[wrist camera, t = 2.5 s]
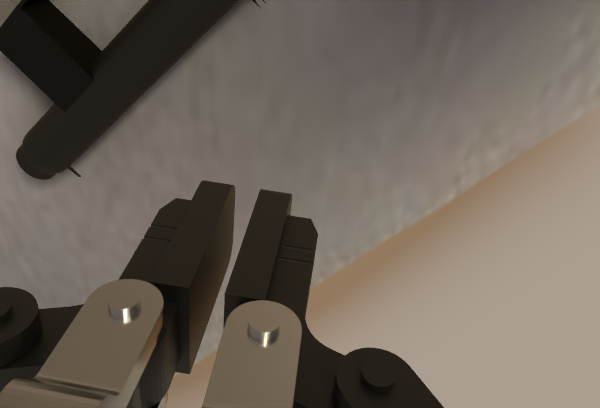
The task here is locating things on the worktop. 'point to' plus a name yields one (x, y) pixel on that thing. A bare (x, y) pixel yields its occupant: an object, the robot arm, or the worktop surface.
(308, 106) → the worktop surface
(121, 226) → the worktop surface
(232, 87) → the worktop surface
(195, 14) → the door handle
